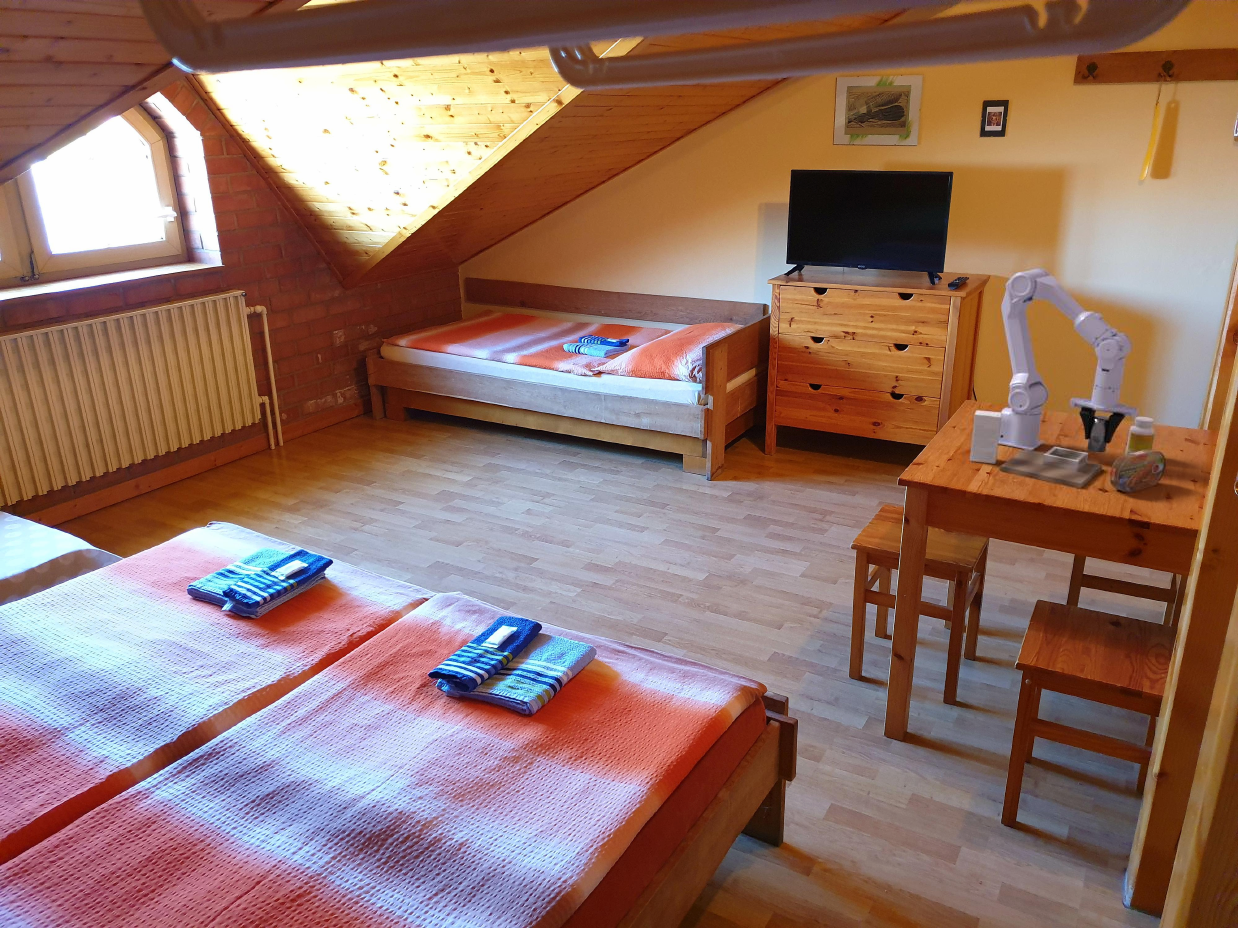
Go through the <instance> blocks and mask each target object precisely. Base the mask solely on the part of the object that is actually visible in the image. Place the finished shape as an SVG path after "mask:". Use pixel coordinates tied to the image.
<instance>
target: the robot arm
mask: <svg viewBox="0 0 1238 928" xmlns="http://www.w3.org/2000/svg"><path fill="white" fill-rule="evenodd" d="M1005 289H1006V290H1005V293H1004V296H1003V300H1002V302H1001V309H1000V311H1001V314H1002V320H1003V325H1004V332H1005V337H1006V343H1007V347H1008V353H1009V359H1010V365H1011V369H1012V378H1011V380H1010V383H1009V394H1008V398H1007V399H1008V400H1007V402H1008V405H1009V407H1004V408H1003V409H1002V410H1001V413H1002V417H1001V426H1000V434H999V443H998V445H1004V446H1008V447H1013V448H1019V449H1023V450H1024V449H1027V450H1032V451H1035V449H1036V448H1038V447H1039V446H1041V445H1042V444H1043V443H1044V441H1043V440H1040V439H1039V434H1040V429H1041V428H1040V427H1041V422H1042V415H1043V405H1045V404H1046V402H1048V401H1049V400H1048V399H1049V395H1050V393H1049V389H1048V388H1047V386H1046V384H1045V383H1044V381H1043V377H1042V375H1041V374H1040V373H1039V372H1038V371H1037V367H1036V363H1035V361H1036V360H1035V358H1034V357H1035V356H1034V350H1033V345H1032V338H1031V334H1030V329H1029V323H1028V322H1029V321H1028V318H1027V309H1028V307H1030V305H1031V304H1032V302H1034V301H1035V300H1038V301H1039V300H1041V301H1048V302H1049V303H1051V304H1052V305H1053V306H1054V307H1056V308H1057V309H1058V310H1059V311H1060V312H1062V313H1063V314H1064V315H1065V316H1066V317H1067V318H1069V319H1070V320H1071V321H1072V322H1073V329H1074V331H1075V332H1077V333H1078V334H1079V335H1080V336H1081V337H1082V338H1083V339H1084V340H1085V341H1086V342H1087V343H1088V344H1089V345H1091V346H1092V348H1094V351H1095V355H1096V357H1097V366H1096V369H1095V370H1096V371H1095V374H1094V375H1095V376H1094V381H1093V382H1094V383H1093V389H1092V394H1091V399H1090V398H1079V397H1078V398H1077V397H1072V398H1071V399H1070V404H1069V408H1079V409H1080V411H1078V413H1079V417H1080V418H1081V422H1082V425H1083V431H1084V439H1085V440H1089V435H1090V429H1091V423H1092V417H1093V416H1096V411H1098V412H1104V413H1110V414H1111V415H1109V416H1108V417H1109V426H1108V433H1107V437H1106V443H1107V444H1110V443H1111V442H1112V439H1113V437H1114V434H1115V433H1116V430H1117V429H1118V427H1119V426H1120V425H1121V423H1122V421H1123V420H1124V419H1125V418H1126V416H1127V417H1130V418H1134V419H1135V418H1136V417H1139V416H1138V415H1139V409H1140V408H1139V407H1134V406H1129V405H1126V404H1122V403H1119V399H1120V396H1121V395H1120V394H1121V388H1122V384H1123V378H1124V372H1125V365H1126V359H1127V357H1126V356H1129V354H1130V353H1131V351H1132V347H1133V345H1132V341H1131V339H1130V338H1129V336H1128V335H1127V334H1125V333H1122V332H1119V330H1118V329H1117V328H1113V327H1112V326H1111V325H1109V323H1107V322H1106V321H1105V320H1104V319H1103V318H1104V315H1102V314H1101V312H1099V313H1096V312H1095V311H1086V310H1085V309H1084V308H1083V307H1082V306H1081V305H1080V304H1079V303H1078V302H1077V301H1076V300H1075V299H1074V298H1073V297H1072V296H1071V295H1070V294H1069V292H1067V290H1065V288H1064V287H1062V286H1061V284H1060V283H1059V282H1058V280H1057V279H1056V277H1055V276H1053V275H1051V274H1050V273H1049V272H1048V271H1047V270H1046V269H1044V268H1039V267H1038V268H1034V269H1031V270H1027V271H1026V270H1025V271H1019V272H1017V273H1015V274H1013V275H1012V276H1011V278H1009V279H1008V281H1007V282H1006V283H1005Z"/></svg>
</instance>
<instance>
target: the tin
mask: <svg viewBox="0 0 1238 928" xmlns="http://www.w3.org/2000/svg"><path fill="white" fill-rule="evenodd" d="M1166 467H1167V462H1166V457H1165V455H1164V453H1163V452H1161V451H1159V450H1153V449H1152V450H1142V451H1138V452H1134V453H1129V454H1122V455H1120V456H1118V457H1117V458H1116V459H1115V461H1114V462H1113V464H1112V465H1111V469H1110V475H1109V482H1110V484H1111V487H1112V488H1114V489H1115V490H1118V491H1122V492H1124V493H1131V492H1135V491H1140V490H1143V489H1147V488H1151V487H1154V486H1156V485H1157V484H1158V483H1159V482H1160V481H1161V479H1162V478H1163V476H1164V473H1165V471H1166Z"/></svg>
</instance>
